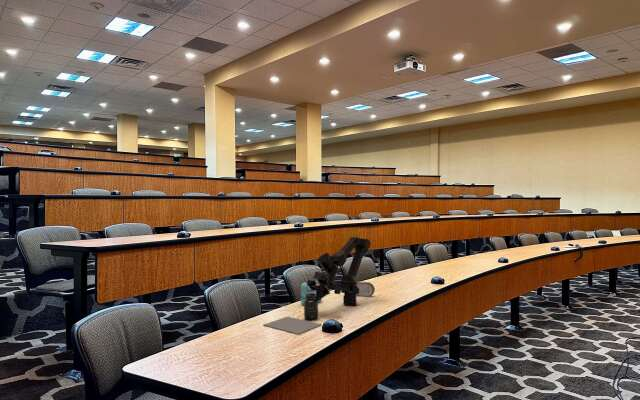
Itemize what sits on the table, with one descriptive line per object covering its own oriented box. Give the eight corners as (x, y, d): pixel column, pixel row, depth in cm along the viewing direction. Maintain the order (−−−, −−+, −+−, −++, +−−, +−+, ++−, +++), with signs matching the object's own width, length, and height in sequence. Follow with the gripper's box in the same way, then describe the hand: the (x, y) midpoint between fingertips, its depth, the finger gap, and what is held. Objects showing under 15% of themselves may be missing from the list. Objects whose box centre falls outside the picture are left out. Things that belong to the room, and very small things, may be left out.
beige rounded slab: (374, 296, 246) (374, 282, 246) (373, 297, 243) (373, 283, 243) (350, 294, 251) (349, 280, 251) (348, 296, 248) (348, 281, 248)
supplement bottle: (303, 317, 205) (303, 293, 205) (317, 316, 205) (317, 292, 205) (304, 321, 198) (304, 296, 198) (318, 320, 199) (318, 295, 199)
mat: (287, 317, 205) (287, 316, 205) (322, 325, 191) (322, 324, 191) (263, 325, 193) (263, 324, 193) (298, 334, 179) (298, 333, 179)
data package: (306, 306, 225) (306, 284, 225) (300, 305, 228) (300, 283, 228) (321, 302, 234) (321, 280, 234) (316, 301, 237) (315, 280, 237)
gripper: (308, 264, 215) (294, 289, 207) (337, 267, 203) (323, 293, 195) (318, 276, 221) (304, 301, 213) (346, 280, 210) (333, 307, 201)
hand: (316, 300), depth 205 cm, fingers closed
